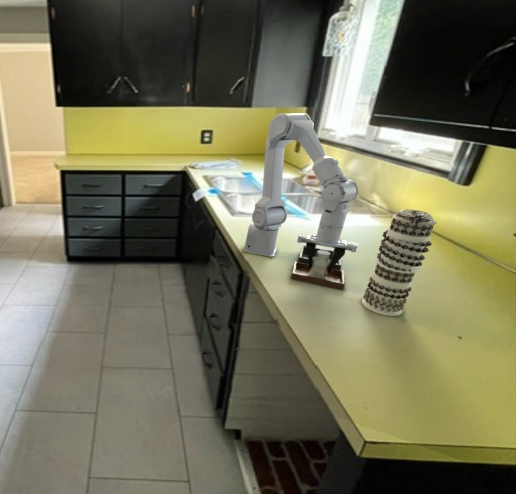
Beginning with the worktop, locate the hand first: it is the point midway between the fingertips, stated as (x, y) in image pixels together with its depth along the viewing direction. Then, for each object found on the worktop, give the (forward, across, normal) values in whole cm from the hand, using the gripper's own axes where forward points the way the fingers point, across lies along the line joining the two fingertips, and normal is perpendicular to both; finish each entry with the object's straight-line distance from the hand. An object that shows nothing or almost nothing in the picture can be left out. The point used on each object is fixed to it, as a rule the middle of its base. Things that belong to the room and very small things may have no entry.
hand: (319, 269), depth 105 cm
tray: (+3, 0, 0) cm, 3 cm away
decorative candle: (+3, +15, -10) cm, 18 cm away
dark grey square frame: (+3, 0, +12) cm, 12 cm away
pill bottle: (+3, 0, 0) cm, 3 cm away
